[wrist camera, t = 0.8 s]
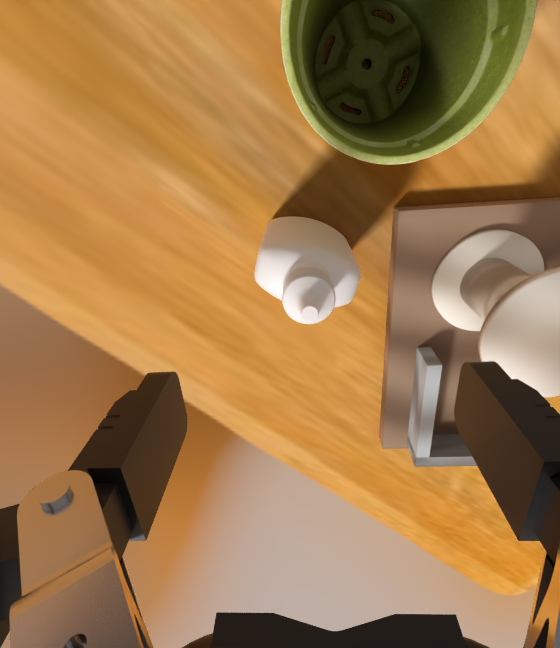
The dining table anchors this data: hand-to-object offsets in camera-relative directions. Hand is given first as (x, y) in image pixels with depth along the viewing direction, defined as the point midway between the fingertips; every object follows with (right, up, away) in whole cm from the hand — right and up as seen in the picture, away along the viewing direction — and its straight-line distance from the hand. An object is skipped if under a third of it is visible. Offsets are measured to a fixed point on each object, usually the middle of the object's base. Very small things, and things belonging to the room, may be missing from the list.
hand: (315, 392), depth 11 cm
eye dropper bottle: (+1, +8, +16) cm, 18 cm away
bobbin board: (+13, +1, +18) cm, 23 cm away
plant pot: (+4, +17, +11) cm, 21 cm away
